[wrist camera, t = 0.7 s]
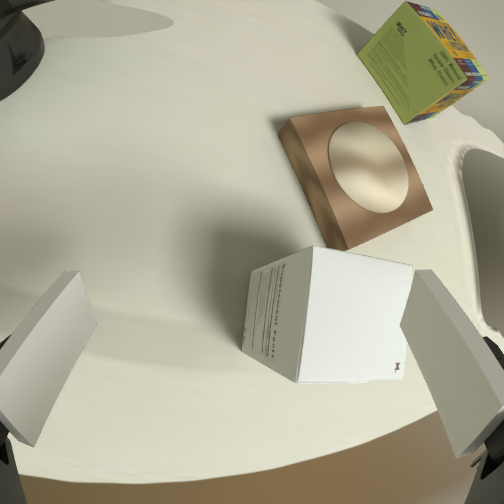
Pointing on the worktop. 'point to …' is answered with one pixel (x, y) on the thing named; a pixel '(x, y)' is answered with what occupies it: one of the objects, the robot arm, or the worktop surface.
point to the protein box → (420, 63)
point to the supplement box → (328, 317)
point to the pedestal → (354, 174)
